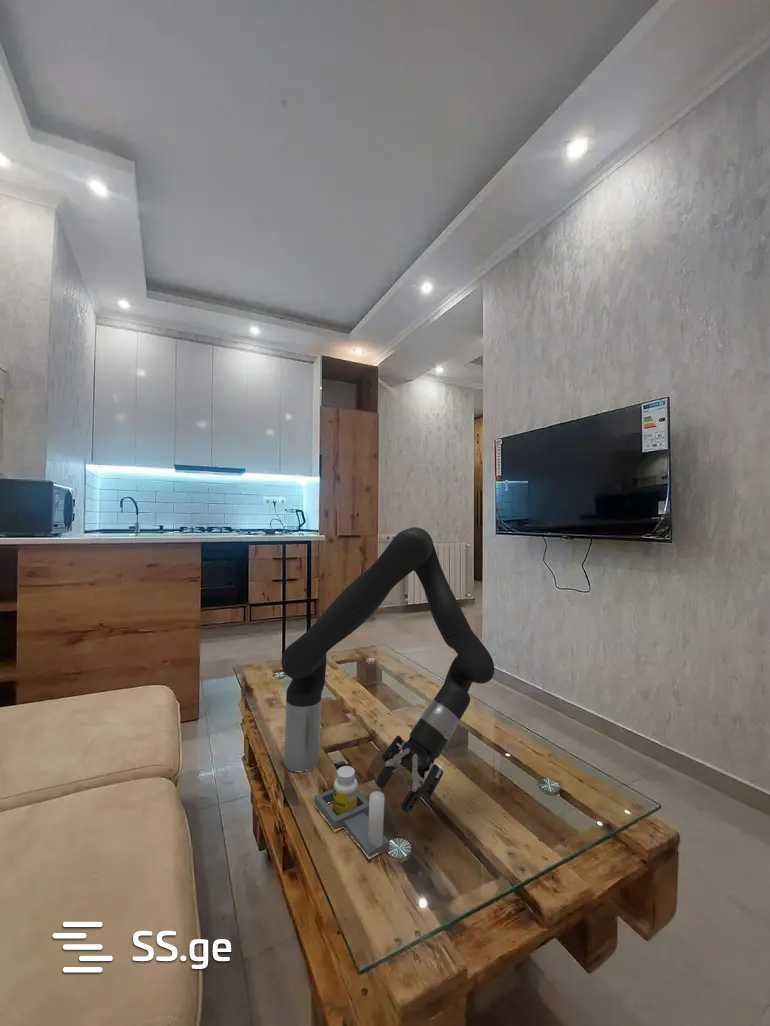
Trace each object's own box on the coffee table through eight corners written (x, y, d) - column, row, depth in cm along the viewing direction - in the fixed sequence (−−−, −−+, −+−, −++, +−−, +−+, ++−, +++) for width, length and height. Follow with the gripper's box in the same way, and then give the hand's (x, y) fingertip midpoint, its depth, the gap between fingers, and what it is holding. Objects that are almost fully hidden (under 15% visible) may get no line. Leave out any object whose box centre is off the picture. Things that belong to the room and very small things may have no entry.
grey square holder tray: (314, 806, 98) (315, 759, 98) (349, 791, 104) (351, 746, 104) (359, 865, 83) (361, 809, 82) (397, 844, 88) (400, 792, 88)
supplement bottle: (327, 812, 97) (329, 769, 97) (346, 802, 100) (348, 760, 100) (342, 826, 93) (343, 782, 93) (361, 815, 96) (363, 772, 96)
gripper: (405, 706, 99) (361, 771, 93) (449, 734, 88) (402, 811, 81) (422, 722, 102) (381, 786, 96) (466, 752, 91) (422, 827, 84)
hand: (390, 798), depth 89 cm, fingers open, 8 cm apart
